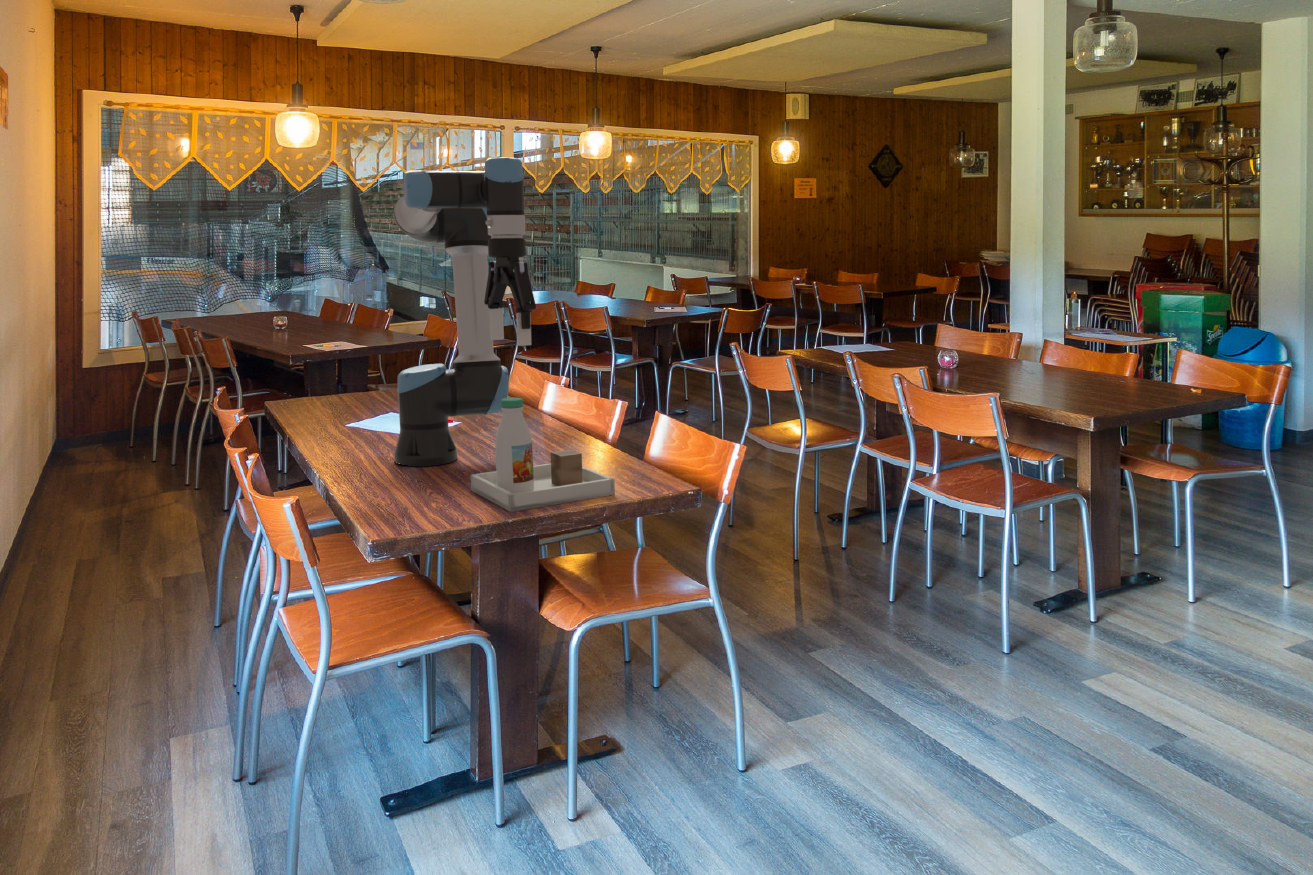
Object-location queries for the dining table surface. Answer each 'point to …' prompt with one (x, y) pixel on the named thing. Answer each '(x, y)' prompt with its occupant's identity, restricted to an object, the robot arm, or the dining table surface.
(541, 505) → the tray
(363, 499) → the dining table surface
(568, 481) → the walnut block
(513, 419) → the milk bottle
